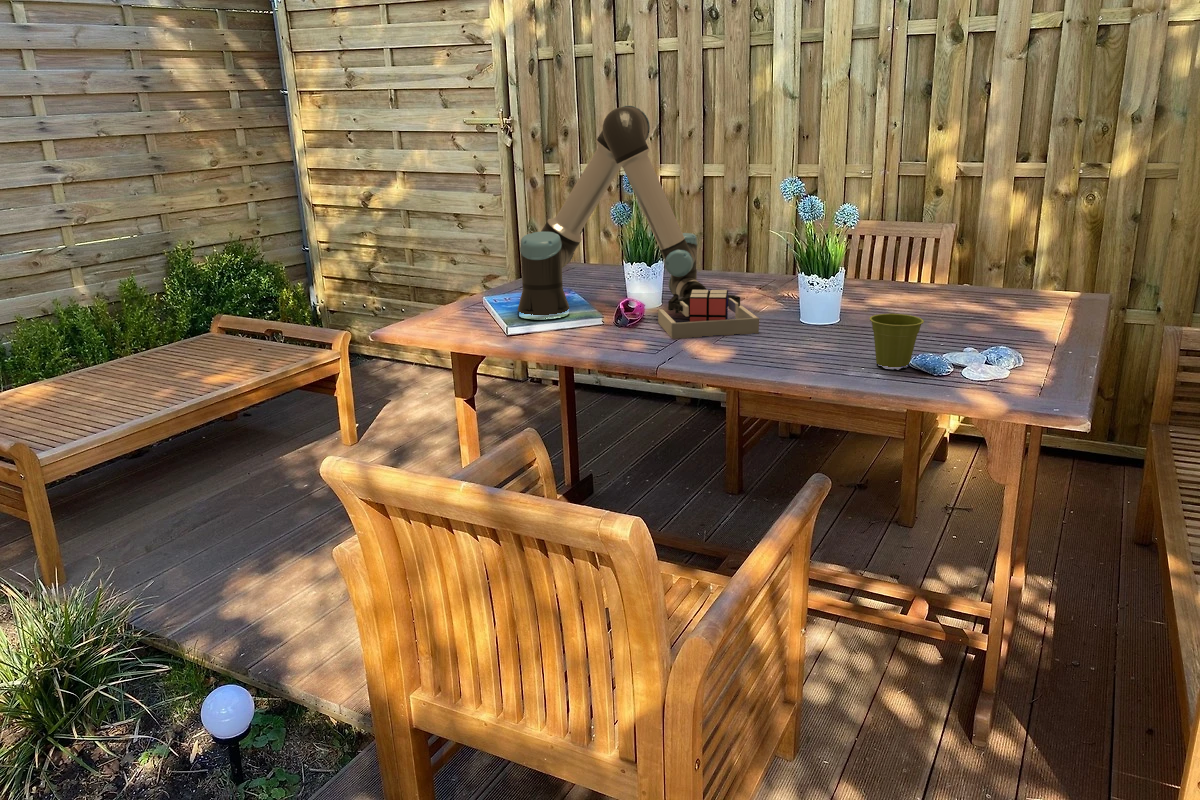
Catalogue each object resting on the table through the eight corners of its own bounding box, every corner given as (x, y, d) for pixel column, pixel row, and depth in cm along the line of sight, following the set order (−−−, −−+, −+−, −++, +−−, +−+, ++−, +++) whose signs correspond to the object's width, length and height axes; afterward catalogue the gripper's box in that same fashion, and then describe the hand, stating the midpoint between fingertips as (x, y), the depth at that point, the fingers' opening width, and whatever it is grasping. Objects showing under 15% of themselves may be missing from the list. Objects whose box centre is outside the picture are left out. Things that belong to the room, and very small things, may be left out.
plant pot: (928, 372, 211) (932, 324, 207) (876, 375, 210) (880, 326, 206) (907, 358, 222) (911, 312, 218) (859, 360, 221) (862, 314, 217)
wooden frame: (658, 323, 260) (658, 309, 259) (739, 318, 264) (739, 304, 262) (672, 338, 244) (672, 324, 243) (758, 333, 247) (759, 318, 246)
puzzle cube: (726, 334, 247) (727, 297, 244) (688, 334, 249) (688, 297, 245) (727, 325, 256) (728, 289, 253) (691, 324, 258) (691, 289, 255)
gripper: (733, 303, 271) (756, 320, 251) (649, 309, 267) (666, 326, 247) (734, 278, 268) (757, 293, 248) (649, 283, 265) (666, 298, 245)
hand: (712, 310), depth 248 cm, fingers open, 13 cm apart
